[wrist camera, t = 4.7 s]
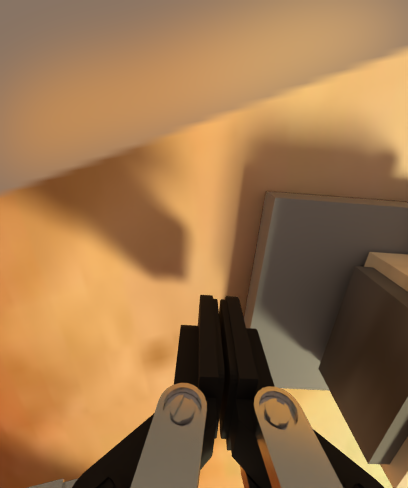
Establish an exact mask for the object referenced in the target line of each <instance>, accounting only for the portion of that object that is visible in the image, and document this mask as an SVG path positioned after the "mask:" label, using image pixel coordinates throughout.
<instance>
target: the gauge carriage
mask: <svg viewBox="0 0 408 488" xmlns="http://www.w3.org/2000/svg"><path fill="white" fill-rule="evenodd" d="M318 369H319V371H320V373H321V375H322V377H323V379H324V380H325V382H326V384H327V386H328V388H329V390H330V392H331V394H332V396H333V398H334V400H335V401H336V403H337V405H338V407H339V409H340V411H341V413H342V415H343V417H344V419H345V420H346V422H347V424H348V426H349V428H350V430H351V432H352V434H353V436H354V438H355V440H356V441H357V443H358V445H359V447H360V449H361V451H362V453H363V455H364V457H365V459H366V461H367V462H368V464H380V465H381V467H382V469H383V470H384V472H385V474H386V476H387V478H388V479H389V481H390V483H391V485H392V486H393V487H395V488H408V254H394V253H379V252H369V254H368V257H367V260H366V262H365V265H364V267H360V266H355V267H354V270H353V273H352V276H351V278H350V281H349V284H348V287H347V290H346V292H345V295H344V298H343V301H342V304H341V306H340V309H339V312H338V315H337V318H336V320H335V323H334V326H333V329H332V332H331V334H330V337H329V340H328V343H327V346H326V348H325V351H324V354H323V357H322V360H321V362H320V365H319V368H318Z"/></svg>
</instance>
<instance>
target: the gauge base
mask: <svg viewBox="0 0 408 488" xmlns="http://www.w3.org/2000/svg"><path fill="white" fill-rule="evenodd" d="M369 252H379V253H394V254H408V202H401V201H388V200H375V199H362V198H349V197H336V196H323V195H310V194H296V193H283V192H270V191H266V194H265V200H264V206H263V211H262V217H261V223H260V229H259V234H258V240H257V246H256V252H255V257H254V263H253V269H252V275H251V280H250V286H249V292H248V298H247V304H246V309H245V315H244V322H245V326H246V328H253V329H257V331H258V333H259V337H260V340H261V343H262V346H263V350H264V353H265V356H266V360H267V363H268V366H269V370H270V373H271V376H272V379H273V383H274V386H275V387H278V388H288V389H310V390H329V388H328V386H327V384H326V382H325V380H324V379H323V377H322V375H321V373H320V371H319V369H318V368H319V365H320V362H321V360H322V357H323V354H324V351H325V348H326V346H327V343H328V340H329V337H330V334H331V332H332V329H333V326H334V323H335V320H336V318H337V315H338V312H339V309H340V306H341V304H342V301H343V298H344V295H345V292H346V290H347V287H348V284H349V281H350V278H351V276H352V273H353V270H354V267H355V266H360V267H364V265H365V262H366V260H367V257H368V254H369Z"/></svg>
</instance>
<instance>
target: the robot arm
mask: <svg viewBox="0 0 408 488" xmlns="http://www.w3.org/2000/svg"><path fill="white" fill-rule="evenodd" d="M219 421H220V436H221V439H226V443H227V450H231V451H232V457H233V458H234V459H235V460H236V461H237V462H238V464H239V465H240V469H241V476H242V480H243V484H244V488H384V487H383V486H382V485H381V484H380V483H379V482H378V481H377V480H376V479H374V478H373V477H372V476H371V475H369V474H368V473H367V472H366V471H364V470H363V469H362V468H361V467H359V466H358V465H357V464H356V463H355V462H353V461H352V460H351V459H350V458H348V457H347V456H346V455H345V454H343V453H342V452H341V451H340V450H338V449H337V448H336V447H335V446H333V445H332V444H331V443H330V442H328V441H327V440H326V439H325V438H323V437H322V436H321V435H320V434H318V433H317V432H316V431H315V430H313V429H312V427H311V425H310V423H309V421H308V419H307V417H306V416H305V414H304V412H303V410H302V408H301V406H300V405H299V403H298V402H297V400H296V399H295V398H294V397H293V396H292V395H291V394H290V393H288V392H287V391H285V390H283V389H281V388H278V387H275V386H274V383H273V379H272V376H271V373H270V370H269V366H268V363H267V360H266V356H265V353H264V350H263V346H262V343H261V340H260V337H259V333H258V331H257V329H253V328H246V326H245V322H244V317H243V313H242V309H241V305H240V301H239V298H238V297H230V296H226V297H225V300H224V299H221V301H220V309H219V310H218V301H217V299H213V296H211V295H200V305H199V318H198V326H191V325H181V328H180V337H179V345H178V354H177V362H176V371H175V379H174V385H172V386H170V387H169V388H167V389H166V390H165V391H164V392H163V393H162V395H161V397H160V399H159V401H158V404H157V407H156V410H155V413H154V414H153V415H152V416H151V417H149V418H148V419H147V420H146V421H145V422H143V423H142V424H141V425H140V426H139V427H138V428H136V429H135V430H134V431H133V432H132V433H130V434H129V435H128V436H127V437H126V438H124V439H123V440H122V441H121V442H120V443H119V444H117V445H116V446H115V447H114V448H113V449H111V450H110V451H109V452H108V453H107V454H105V455H104V456H103V457H102V458H101V459H100V460H98V461H97V462H96V463H95V464H94V465H92V466H91V467H90V468H89V469H88V470H87V471H85V472H84V473H83V474H82V475H81V476H80V477H79V478H78V479H74V480H70V481H67V482H65V481H64V478H63V479H59V480H55V481H51V482H47V483H44V484H40V485H36V486H32V487H28V488H198V484H199V476H200V470H201V469H202V467H203V466H204V465H205V464H206V463H207V461H208V460H209V459H210V458H211V456H212V453H213V445H214V438H216V437H217V431H218V424H219ZM393 488H395V487H393Z"/></svg>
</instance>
